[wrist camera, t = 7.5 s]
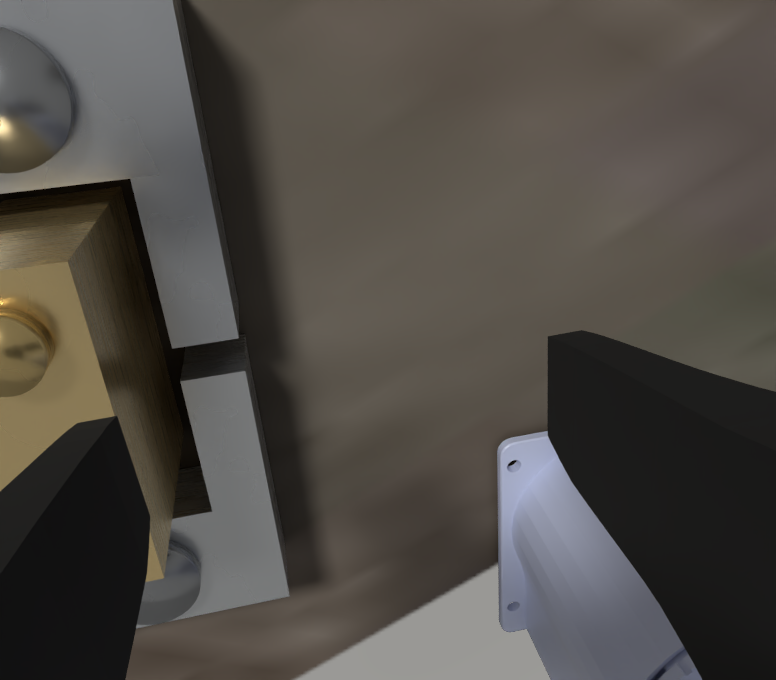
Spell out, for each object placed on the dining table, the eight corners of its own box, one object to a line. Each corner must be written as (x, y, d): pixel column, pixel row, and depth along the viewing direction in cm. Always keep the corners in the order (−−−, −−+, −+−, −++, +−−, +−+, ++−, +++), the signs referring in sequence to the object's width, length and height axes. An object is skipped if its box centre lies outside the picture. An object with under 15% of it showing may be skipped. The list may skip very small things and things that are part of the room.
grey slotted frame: (285, 544, 25) (290, 607, 22) (53, 590, 23) (30, 663, 21) (178, -15, 17) (166, -21, 14) (-180, 14, 15) (-267, 13, 13)
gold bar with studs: (183, 431, 22) (161, 597, 16) (87, 448, 21) (24, 625, 15) (121, 185, 18) (59, 272, 12) (4, 200, 18) (-122, 296, 12)
